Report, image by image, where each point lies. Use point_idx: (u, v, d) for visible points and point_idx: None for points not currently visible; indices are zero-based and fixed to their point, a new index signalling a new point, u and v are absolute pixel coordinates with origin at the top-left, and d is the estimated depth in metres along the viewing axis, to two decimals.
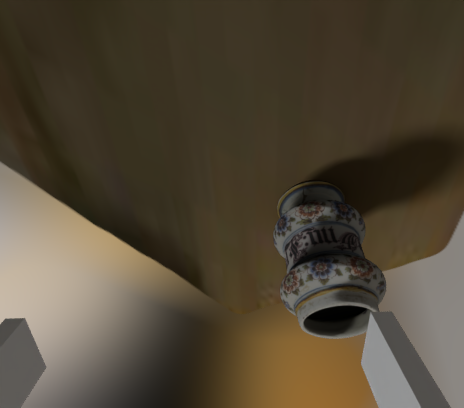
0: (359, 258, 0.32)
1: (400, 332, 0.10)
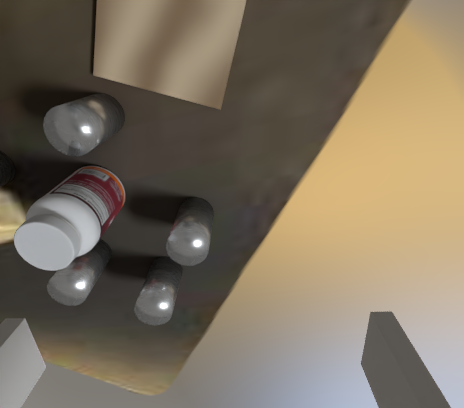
0: None
1: (400, 332, 0.10)
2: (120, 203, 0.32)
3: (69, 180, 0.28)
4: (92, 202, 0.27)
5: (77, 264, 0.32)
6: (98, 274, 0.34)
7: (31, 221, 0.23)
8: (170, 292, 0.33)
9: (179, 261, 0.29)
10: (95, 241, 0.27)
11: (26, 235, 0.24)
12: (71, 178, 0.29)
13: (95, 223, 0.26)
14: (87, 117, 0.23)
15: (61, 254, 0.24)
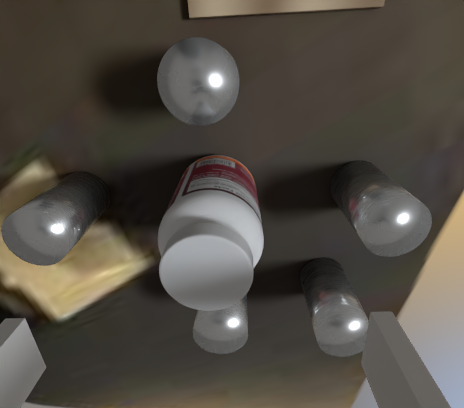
0: None
1: (400, 332, 0.10)
2: None
3: (193, 176, 0.20)
4: (242, 194, 0.18)
5: None
6: (246, 302, 0.25)
7: (180, 237, 0.14)
8: (357, 304, 0.23)
9: (383, 252, 0.19)
10: (261, 251, 0.18)
11: (178, 263, 0.15)
12: (193, 173, 0.20)
13: (258, 223, 0.17)
14: (222, 49, 0.14)
15: (234, 280, 0.15)
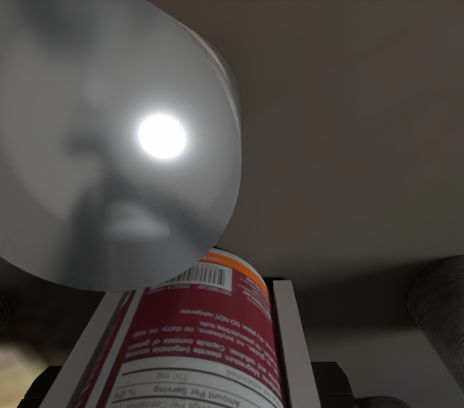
0: None
1: (291, 295, 0.12)
2: None
3: (135, 334, 0.08)
4: None
5: None
6: None
7: None
8: None
9: None
10: None
11: None
12: (138, 320, 0.09)
13: None
14: (167, 24, 0.03)
15: None
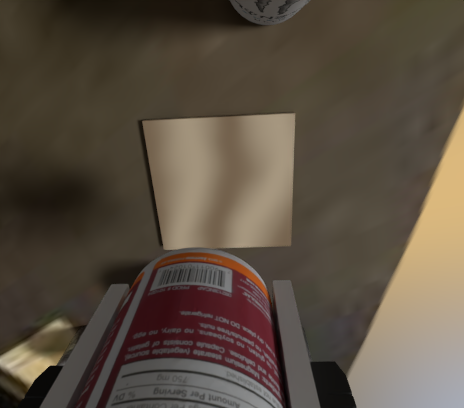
0: None
1: (290, 295, 0.12)
2: None
3: (135, 335, 0.08)
4: None
5: None
6: None
7: None
8: None
9: None
10: None
11: None
12: (138, 321, 0.09)
13: None
14: None
15: None
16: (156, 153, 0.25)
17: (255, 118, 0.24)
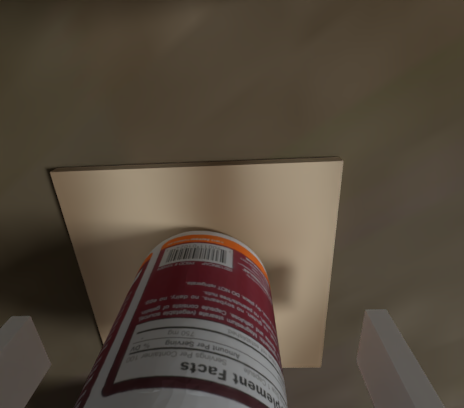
0: None
1: (394, 329, 0.10)
2: None
3: (147, 302, 0.10)
4: (247, 375, 0.08)
5: None
6: None
7: None
8: None
9: None
10: None
11: None
12: (149, 291, 0.10)
13: None
14: None
15: None
16: (83, 227, 0.14)
17: (266, 169, 0.12)
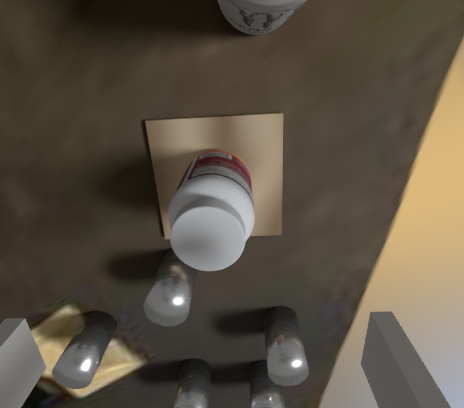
0: None
1: (400, 332, 0.10)
2: None
3: (197, 165, 0.24)
4: (236, 179, 0.22)
5: (189, 396, 0.35)
6: (208, 397, 0.37)
7: (187, 209, 0.18)
8: (278, 403, 0.35)
9: (283, 383, 0.31)
10: (253, 225, 0.21)
11: (185, 230, 0.18)
12: (197, 164, 0.24)
13: (250, 201, 0.21)
14: (178, 296, 0.27)
15: (229, 244, 0.19)
16: (158, 150, 0.28)
17: (247, 118, 0.26)
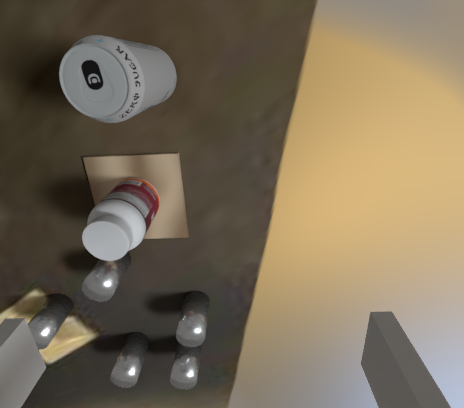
0: None
1: (400, 332, 0.10)
2: (156, 202, 0.38)
3: (112, 191, 0.35)
4: (133, 201, 0.33)
5: (126, 358, 0.47)
6: (142, 360, 0.48)
7: (91, 222, 0.30)
8: (192, 363, 0.46)
9: (188, 345, 0.43)
10: (143, 231, 0.33)
11: (90, 235, 0.30)
12: (113, 189, 0.36)
13: (139, 216, 0.32)
14: (105, 280, 0.38)
15: (119, 244, 0.30)
16: (93, 177, 0.39)
17: (153, 156, 0.38)
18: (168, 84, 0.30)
